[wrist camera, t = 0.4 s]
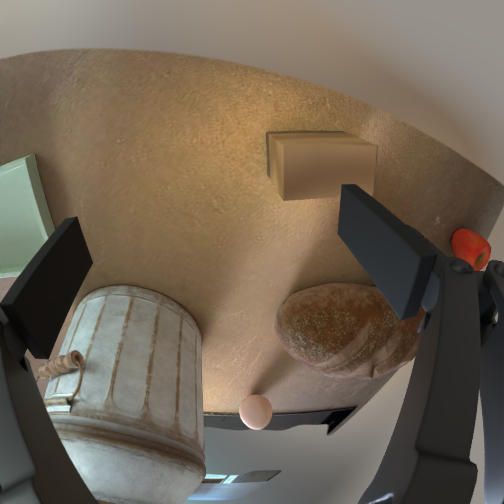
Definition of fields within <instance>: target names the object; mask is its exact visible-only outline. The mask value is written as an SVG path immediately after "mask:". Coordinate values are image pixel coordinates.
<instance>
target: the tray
mask: <svg viewBox="0 0 504 504" xmlns="http://www.w3.org/2000/svg"><path fill="white" fill-rule="evenodd" d="M54 231H55V228H54V225H53V222H52V218H51V215H50V212H49V209H48V205H47V202H46V199H45V195H44V191H43V188H42V184H41V180H40V176H39V172H38V168H37V163H36V159H35V154H31V155H28V156H25V157H22V158H20V159H17V160H14V161H12V162H9V163H7V164H4V165H2V166H0V278H5V277H14V276H19V275H20V274H21V272H22V271H23V270H24V268H25V267H26V266H27V264H28V263H29V262H30V261H31V259H32V258H33V257H34V255H35V254H36V253H37V252H38V250H39V249H40V248H41V247H42V245H43V244H44V243H45V242H46V241H47V239H48V238H49V237H50V236H51V235H52V233H53V232H54Z"/></svg>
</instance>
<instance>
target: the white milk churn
mask: <svg viewBox="0 0 504 504" xmlns="http://www.w3.org/2000/svg"><path fill="white" fill-rule="evenodd" d="M36 372H37V377H36V379H35V381H36V383H37V381H38V379H39V378H41V379H47V378H49V377H50V376H51V377H50V380H49V383H48V387H47V390H46V393H45V397H44V399H43V402H44V404H45V407H46V409H47V412H48V414H49V416H50V418H51V421H52V423H53V425H54V427H55V429H56V431H57V434H58V436H59V438H60V440H61V442H62V444H63V446H64V447H65V449H66V451H67V453H68V455H69V457H70V459H71V460H72V462H73V464H74V466H75V467H76V469H77V471H78V472H79V474H80V476H81V477H82V479H83V481H84V482H85V484H86V485H87V487H88V488H89V490H90V492H91V493H92V495H93V496H94V497H95V499H96V500H97V501H98V502H99V503H100V504H182V503H184V502H185V500H186V499H187V498H188V497H189V496H190V495H191V494H192V493H193V492H194V491H195V489H196V488H197V487H198V486H199V485H200V483H201V482H202V481H203V479H204V478H205V476H206V467H205V464H204V462H205V455H204V419H203V393H202V337H201V333H200V330H199V327H198V325H197V323H196V322H195V320H194V319H193V318H192V316H191V315H190V314H189V313H188V312H187V311H186V310H185V309H184V308H183V307H181V306H180V305H179V304H178V303H176V302H175V301H173V300H171V299H170V298H168V297H166V296H164V295H162V294H159V293H157V292H154V291H152V290H148V289H145V288H140V287H135V286H126V285H116V286H108V287H103V288H100V289H97V290H95V291H93V292H91V293H89V294H88V295H87V296H85V297H84V298H83V299H82V300H81V301H80V303H79V304H78V306H77V308H76V310H75V313H74V316H73V319H72V321H71V323H70V326H69V328H68V331H67V333H66V336H65V338H64V341H63V344H62V346H61V349H60V351H59V354H58V357H56V358H53V359H52V360H48V361H47V362H46V363H45V364H40V365H38V366H37V368H36Z"/></svg>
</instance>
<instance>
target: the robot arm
mask: <svg viewBox="0 0 504 504" xmlns="http://www.w3.org/2000/svg"><path fill="white" fill-rule="evenodd" d="M338 235H339V236H340V238H341V239H342V240H343V241H344V243H345V244H346V245H347V247H348V248H349V249H350V251H351V252H352V253H353V255H354V256H355V257H356V259H357V260H358V261H359V263H360V264H361V265H362V267H363V268H364V270H365V271H366V272H367V274H368V275H369V276H370V278H371V279H372V281H373V282H374V283H375V285H376V286H377V288H378V289H379V290H380V292H381V293H382V295H383V296H384V298H385V299H386V301H387V302H388V303H389V305H390V306H391V308H392V309H393V311H394V312H395V314H396V315H397V317H398V318H399V320H400V321H402V320H406V319H409V318H413V317H416V316H417V313H418V311H419V308H420V306H421V304H422V306H423V307H424V308H425V309H426V313H425V315H424V317H423V320H422V322H421V324H420V327H419V329H418V331H417V332H418V333H420V331H421V333H420V338H419V343H418V348H417V352H416V358H415V361H414V365H413V369H412V374H411V377H410V381H409V385H408V388H407V392H406V395H405V398H404V402H403V405H402V408H401V411H400V414H399V417H398V420H397V423H396V426H395V429H394V432H393V434H392V437H391V440H390V442H389V445H388V447H387V450H386V452H385V455H384V457H383V460H382V462H381V464H380V467H379V469H378V471H377V473H376V475H375V477H374V479H373V481H372V483H371V484H370V485H369V487H368V488H367V489H366V491H365V492H364V494H363V495H362V497H361V499H360V500H359V502H358V504H470V502H471V498H472V495H473V492H474V488H475V484H476V480H477V472H478V470H477V466H476V464H474V463H473V462H471V461H470V459H469V456H470V449H471V444H472V439H473V433H474V426H475V420H476V413H477V404H478V393H479V390H480V398H481V406H482V415H483V427H484V445H485V477H484V478H485V479H484V504H504V263H503V262H502V261H497V260H491V261H489V263H488V265H487V268H486V270H485V271H475V270H474V268H473V267H472V265H471V264H470V263H468V262H467V261H465V260H463V259H460V258H456V257H448V258H447V257H446V256H445V255H444V254H443V253H442V252H441V251H440V250H439V249H437V248H436V247H435V246H434V245H433V244H432V243H430V241H429V240H428V239H427V238H424V236H423V235H422V234H421V233H420V232H419V231H418V230H416V229H414V228H412V227H410V226H408V225H405V224H404V223H403V222H402V221H401V220H399V219H398V218H397V217H396V216H395V215H394V214H392V213H391V212H390V211H389V210H388V209H386V208H385V207H384V206H383V205H382V204H380V203H379V202H378V201H377V200H375V199H374V198H373V197H372V196H370V195H369V194H368V193H367V192H365V191H364V190H363V189H361V188H360V187H359V186H358V185H356V184H342V185H341V200H340V213H339V224H338ZM92 264H93V261H92V259H91V256H90V253H89V250H88V247H87V245H86V242H85V239H84V236H83V233H82V230H81V227H80V224H79V220H78V217H72V218H67V219H65V220H64V221H63V222H62V223H61V224H60V225H59V227H58V228H57V229H56V230H55V231H54V232H53V233H52V235H51V236H50V237H49V238H48V239H47V241H46V242H45V243H44V244H43V245H42V247H41V248H40V249H39V250H38V252H37V253H36V254H35V255H34V257H33V258H32V259H31V261H30V262H29V263H28V264H27V266H26V267H25V268H24V270H23V271H22V272H21V274H20V275H19V277H18V278H17V279H16V281H15V282H14V284H13V285H12V286H11V288H10V289H9V291H8V292H7V294H6V295H5V297H4V298H3V300H2V301H1V303H0V504H100V503H99V502H98V501H97V500H96V499H95V497H94V496H93V495H92V493H91V492H90V490H89V488H88V487H87V485H86V484H85V482H84V481H83V479H82V477H81V476H80V474H79V472H78V471H77V469H76V467H75V466H74V464H73V462H72V460H71V459H70V457H69V455H68V453H67V451H66V449H65V447H64V446H63V444H62V442H61V440H60V438H59V436H58V434H57V431H56V429H55V427H54V425H53V423H52V421H51V418H50V416H49V414H48V412H47V409H46V407H45V404H44V402H43V399H42V397H41V394H40V392H39V389H38V386H37V383H36V381H35V378H34V375H33V372H32V369H31V366H30V363H29V360H28V359H27V357H26V356H25V352H26V350H27V348H28V350H29V351H30V352H31V354H32V355H33V356H34V358H35V359H49V357H50V355H51V352H52V349H53V347H54V344H55V342H56V340H57V337H58V335H59V332H60V330H61V328H62V325H63V323H64V321H65V319H66V316H67V314H68V312H69V310H70V308H71V306H72V303H73V301H74V299H75V297H76V295H77V293H78V291H79V289H80V287H81V285H82V283H83V281H84V279H85V277H86V275H87V273H88V271H89V269H90V268H91V266H92ZM497 313H498V321H497V323H496V321H495V316H496V314H497Z"/></svg>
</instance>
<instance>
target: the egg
mask: <svg viewBox="0 0 504 504" xmlns="http://www.w3.org/2000/svg"><path fill="white" fill-rule="evenodd" d="M239 413H240V417H241V419H242V421H243V422H244V423H245V424H246V425H247V426H248V427H250V428H252V429H257V430H258V429H262V428H264V427H265V426H267V424H268V423H269V422H270V420H271V417H272V407H271V404H270V402H269V401H268V400H267V399H266V398H265V397H263V396H260V395H250V396H248V397H246V398H245V399H244V400H243V401H242V403H241V405H240V408H239Z"/></svg>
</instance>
